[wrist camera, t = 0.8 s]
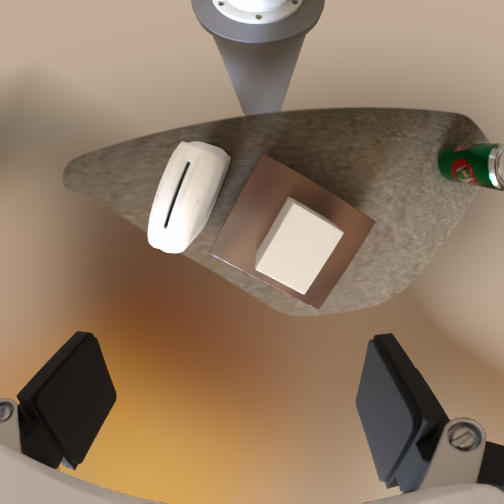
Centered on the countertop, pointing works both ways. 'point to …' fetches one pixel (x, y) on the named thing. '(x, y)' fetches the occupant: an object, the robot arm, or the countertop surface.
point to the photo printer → (186, 195)
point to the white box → (297, 246)
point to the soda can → (473, 164)
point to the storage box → (265, 212)
